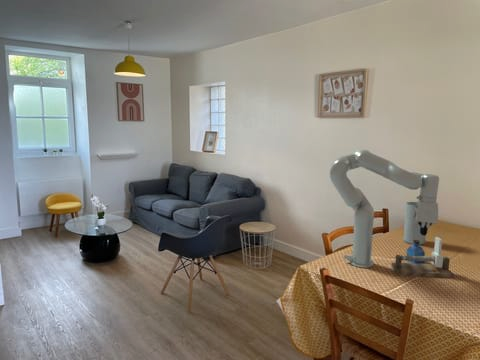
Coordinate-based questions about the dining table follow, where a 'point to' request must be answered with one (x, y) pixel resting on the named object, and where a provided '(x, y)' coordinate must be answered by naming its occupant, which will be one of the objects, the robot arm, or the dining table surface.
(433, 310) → the dining table surface
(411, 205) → the cylinder vase
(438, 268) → the pipe stand
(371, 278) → the dining table surface
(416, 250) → the perfume bottle
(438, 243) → the white l-shaped bracket
